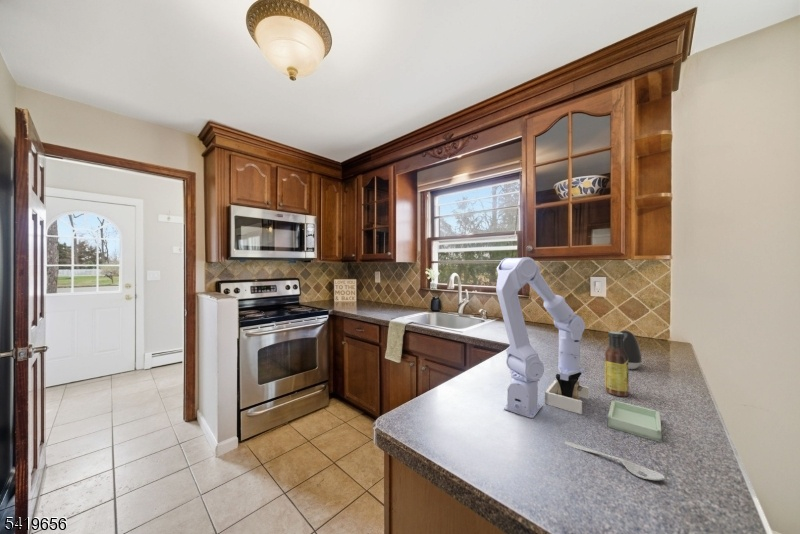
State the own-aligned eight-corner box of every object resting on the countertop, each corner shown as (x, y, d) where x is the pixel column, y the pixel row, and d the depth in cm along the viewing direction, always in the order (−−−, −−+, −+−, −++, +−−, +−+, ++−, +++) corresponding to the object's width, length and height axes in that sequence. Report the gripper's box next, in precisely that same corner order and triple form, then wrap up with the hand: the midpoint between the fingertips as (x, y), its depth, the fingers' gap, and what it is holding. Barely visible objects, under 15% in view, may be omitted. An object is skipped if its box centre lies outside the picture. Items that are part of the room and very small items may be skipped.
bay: (581, 414, 82) (581, 401, 82) (544, 403, 88) (544, 392, 88) (588, 398, 92) (588, 387, 92) (555, 389, 98) (555, 379, 98)
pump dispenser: (604, 365, 123) (605, 329, 123) (619, 361, 127) (619, 327, 127) (632, 373, 114) (632, 334, 113) (646, 369, 118) (647, 332, 118)
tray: (661, 442, 69) (661, 432, 69) (607, 426, 76) (607, 417, 76) (659, 420, 79) (659, 411, 79) (611, 408, 86) (612, 399, 86)
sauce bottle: (632, 398, 92) (633, 335, 92) (610, 396, 93) (611, 334, 93) (621, 389, 98) (622, 331, 98) (600, 388, 100) (601, 330, 100)
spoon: (663, 491, 55) (664, 482, 55) (548, 441, 70) (548, 434, 70) (666, 480, 57) (666, 472, 57) (554, 434, 73) (554, 428, 73)
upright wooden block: (580, 407, 86) (580, 387, 86) (557, 401, 90) (557, 381, 90) (582, 402, 89) (583, 382, 89) (560, 396, 93) (561, 377, 93)
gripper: (580, 361, 82) (579, 409, 82) (587, 349, 93) (587, 392, 93) (552, 356, 86) (552, 402, 86) (562, 345, 97) (562, 386, 97)
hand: (568, 396), depth 90 cm, fingers closed on upright wooden block, 4 cm apart
